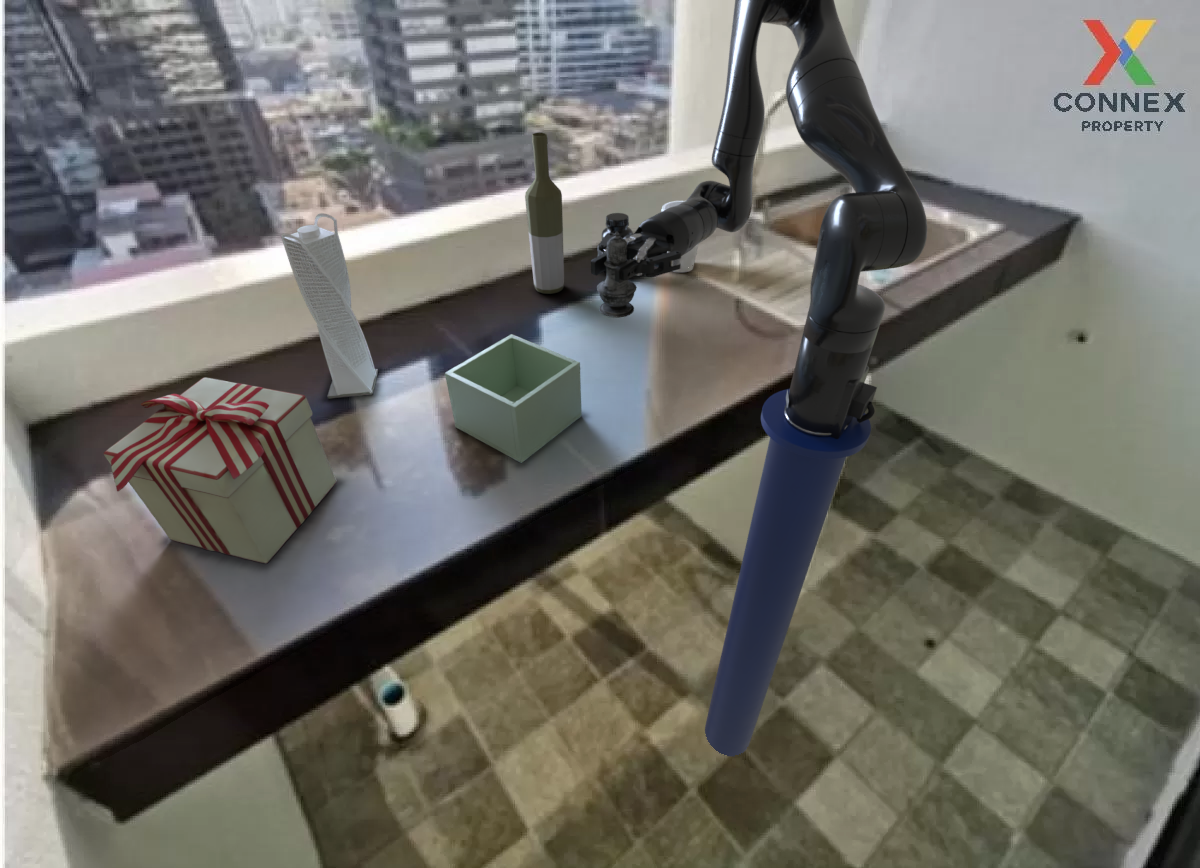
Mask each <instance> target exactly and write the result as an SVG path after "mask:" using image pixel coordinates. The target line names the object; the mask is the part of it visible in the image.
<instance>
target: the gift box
mask: <svg viewBox="0 0 1200 868" xmlns="http://www.w3.org/2000/svg"><path fill="white" fill-rule="evenodd" d="M161 405H163V407H161V408H159V409H158V410H157V411H156V412H154V413H153V414H152V415H151V416H149V417H148V418H147V419H146V420H144V421H143V422H142V423H141V424H139V425H138V426H137V427H136V428H134V429H133V430H132V431H130V432H128V433H127V434H126V435H125V436H124V437H122V438H120V439H119V440H118V441H116V442H115V443H114V444H113V445H111V446H110V447H109V448H108V449H106V450H105V451H104V452H103V455H104V457H105V459H106V460H107V461H108V463H109V464H110V467H111V473H112V476H113V480H114V484H115V487H116V488H115V489H116V492H120V491H121V490H123V489H124V488H125V487H126V486H127V485H128V484H129V485H130V486H131V487H132V489H133V490H134V492H135V493H136V494H137V496H138V497H139V499H140V500H141V501H142V502H143V505H145V507H146V508H147V510H148V511H149V512H150V514H151V515H152V516H153V518H154V519H155V521H156V522H157V523H158V525H159V526H160V528H161V529H162V530H163V532H164V533H165V534H166V536H167V537H168V539H169V540H170V541H174V542H177V543H181V544H185V545H188V546H193V547H197V548H200V549H204V550H206V551H212V552H217V553H221V554H224V555H228V556H233V557H237V558H240V559H244V560H249V561H251V562H252V561H253V562H257V563H261V564H268V563H269V562H270V561H271V560H272V559H273V558H274V556H275V555H276V554H277V553H278V552H279V551H280V549H281V548H282V547H283V546H284V544H285V543H286V542H287V541H288V540H289V539H290V538H291V537H292V536H293V534H294V533H295V532H296V531H297V530H298V529H299V528H300V526H301V525H302V524H303V523H304V522H305V521H306V519H307V518H308V517H309V516H310V515H311V513H312V512H313V511H314V510H315V509H316V508H317V506H318V505H319V504H320V503H321V501H322V500H323V499H325V497H326V496H327V495H328V494H329V492H330V491H331V490H332V489H333V487H334V486H335V485H336V484H337V478H336V476H335V474H334V472H333V469H332V467H331V464H330V462H329V460H328V457H327V454H326V451H325V450H324V447H323V444H322V442H321V439H320V437H319V435H318V433H317V430H316V427H315V425H314V423H313V420H312V417H313V415H314V413H313V411H312V409H311V406H310V403H309V400H308V399H307V397H306V395H305V394H300V393H295V392H288V391H282V390H277V389H271V388H265V387H262V386H256V385H250V384H245V383H239V382H233V381H226V380H223V379H217V378H212V377H202V378H201V379H199V380H198V381H197V382H195V383H194V384H193V385H191V386H190V387H188V388H187V389H186V390H185V391H183V392H182V393H180V394H177V393H171V394H167V395H163V396H161V397H158V398H153V399H149V400H145V401H143V402H141V403H140V406H142V407H143V408H144V409H149V408H152V407H153V408H154V407H156V406H161Z"/></svg>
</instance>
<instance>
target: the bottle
mask: <svg viewBox="0 0 1200 868" xmlns="http://www.w3.org/2000/svg"><path fill="white" fill-rule="evenodd" d="M531 137H532V138H531V144H532V149H533V150H532V151H533V165H534V180H533V181H532V183H531V184H530V185H529V187H528V188H527V189H526V190H525V194H524V201H525V210H526V211H525V212H526V220H527V231H528V241H529V251H530V258H531V268H532V270H531V271H532V277H533V278H532V279H533V286H534V289H535V290H536V291H537V292H538V293H541V294H547V295H548V294H550V295H551V294H556V293H560V292H561V291H562V290H563V289H564V286H565V258H564V255H565V254H564V227H563V226H564V222H563V221H564V220H563V217H564V216H563V193H562V190H561V189H560V188H559V187H558V186H557V185H556V184H555V182H553V180H552V179H551V177H550V169H549V166H550V165H549V149H548V148H549V147H548V144H549V141H548V139H549V138H548V134H547V133H546V132H534V133H532V134H531Z"/></svg>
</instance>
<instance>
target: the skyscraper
mask: <svg viewBox="0 0 1200 868" xmlns="http://www.w3.org/2000/svg"><path fill="white" fill-rule="evenodd" d="M321 218H328V219H331V220H332V221H333V228H334V229H333V230H334V232H333V231H332V230H329V229H325V228H323V227H320V226H319V225H318V221H319V219H321ZM296 231H297V232H294V233H291V234H289V233H285V232H284V233H282V234H281V241H282V244H283V247H284V250H285V253H286V256H287V260H288V262H289V266H290V268H291V271H292V273H293V276H294V280H295V282H296V284H297V286H298V290H299V292H300V294H301V296H302V299H303V301H304V303H305V305H306V307H307V309H308V311H309V312H310V315H311V316H312V318H313V320H314V322H315V323H316V327H317V331H318V334H319V335H318V336H319V339H320V343H321V347H322V350H323V354H324V357H325V360H326V365H327V368H328V370H329V373H330V376H331V380H332V381H331V384H330V386H329V390H328V392H327V399H337V398H338V399H340V398H348V397H360V396H373V395H374V392H375V386H376V382H377V379H378V373H379V369H378V368H375V365H374V361H373V358H372V354H371V351H370V348H369V345H368V342H367V339H366V337H365V333H364V331H363V330H362V327H361V325H360V323H359V321H358V319H357V316H356V314H355V313H354V311H353V308H352V292H351V283H350V276H349V270H348V267H347V261H346V257H345V253H344V249H343V246H342V243H341V239H340V236H339V232H338V231H339V230H338V220H337V218H335V217H334V216H332V215H330V214H328V213H323V212H321V213H317V214H316V216H315V218H314V224H307V225H303V226H300V227H298V228H297V230H296Z"/></svg>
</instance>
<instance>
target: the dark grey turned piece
mask: <svg viewBox="0 0 1200 868" xmlns="http://www.w3.org/2000/svg"><path fill="white" fill-rule="evenodd" d="M618 235H619V233H618V231H616V232H615V236H614V237H612V238H610V239H609V240H608V241H607V260H606V261H605V262H604V264H605V266H606V273H605V274H606V276H605V280H602V281H600V282H599V283H598V284H597V285H596V291H597V292H598V296H599V297H600V300H601V301H602V302H603V303H602V304H600V306H599V308H598V310H599V312H600V314H601V315H603V316H605V317H608V318H613V319H614V318H615V319H618V318H623V317H624V318H625V317H628V316H630V315H632V314H633V313H634V311H635V307H634V305H633V304H632V303H631V301H632V300H633V298H634V296H635V292H636V291H637V288H638V287H637V284H635V283H634V282H633V281H632V280H630V279H628V280H625V281H623V282H621V283H618V282H615V269H616V267H617V266H619V265H621V264H623V263H624V262H626V261H628V260H627V242H626V240H625V239H624V238H622V237H620V236H618Z"/></svg>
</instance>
